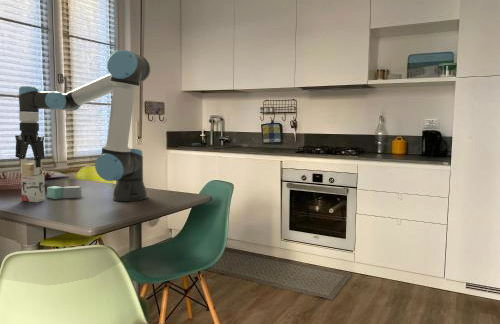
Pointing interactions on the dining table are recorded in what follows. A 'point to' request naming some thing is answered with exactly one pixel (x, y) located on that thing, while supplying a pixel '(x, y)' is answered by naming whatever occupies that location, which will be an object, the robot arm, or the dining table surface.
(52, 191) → the brick teal
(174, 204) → the dining table surface
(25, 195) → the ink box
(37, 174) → the robot arm
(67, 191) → the brick grey
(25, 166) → the brick oak
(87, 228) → the dining table surface
